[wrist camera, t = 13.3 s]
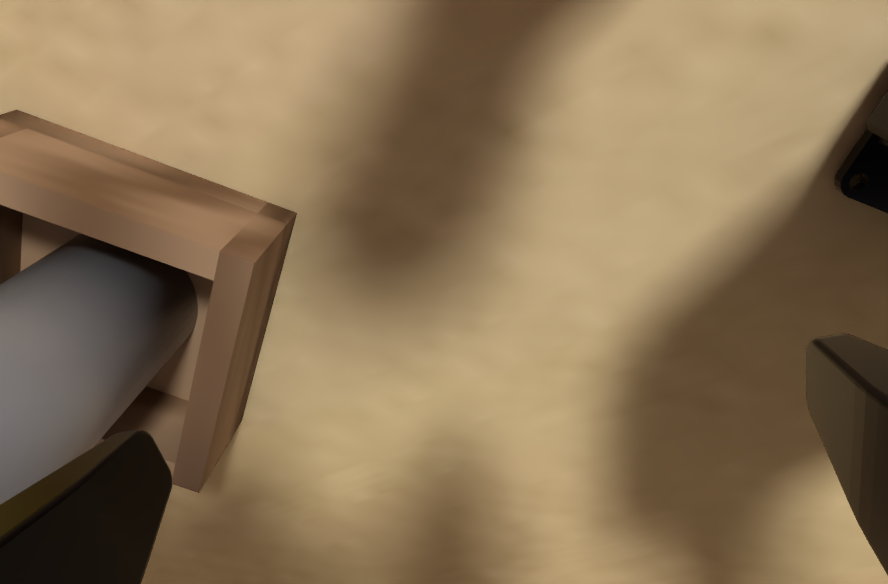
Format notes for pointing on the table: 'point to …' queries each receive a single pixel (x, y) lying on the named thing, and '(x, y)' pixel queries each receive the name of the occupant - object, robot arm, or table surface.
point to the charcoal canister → (81, 350)
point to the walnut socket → (163, 239)
